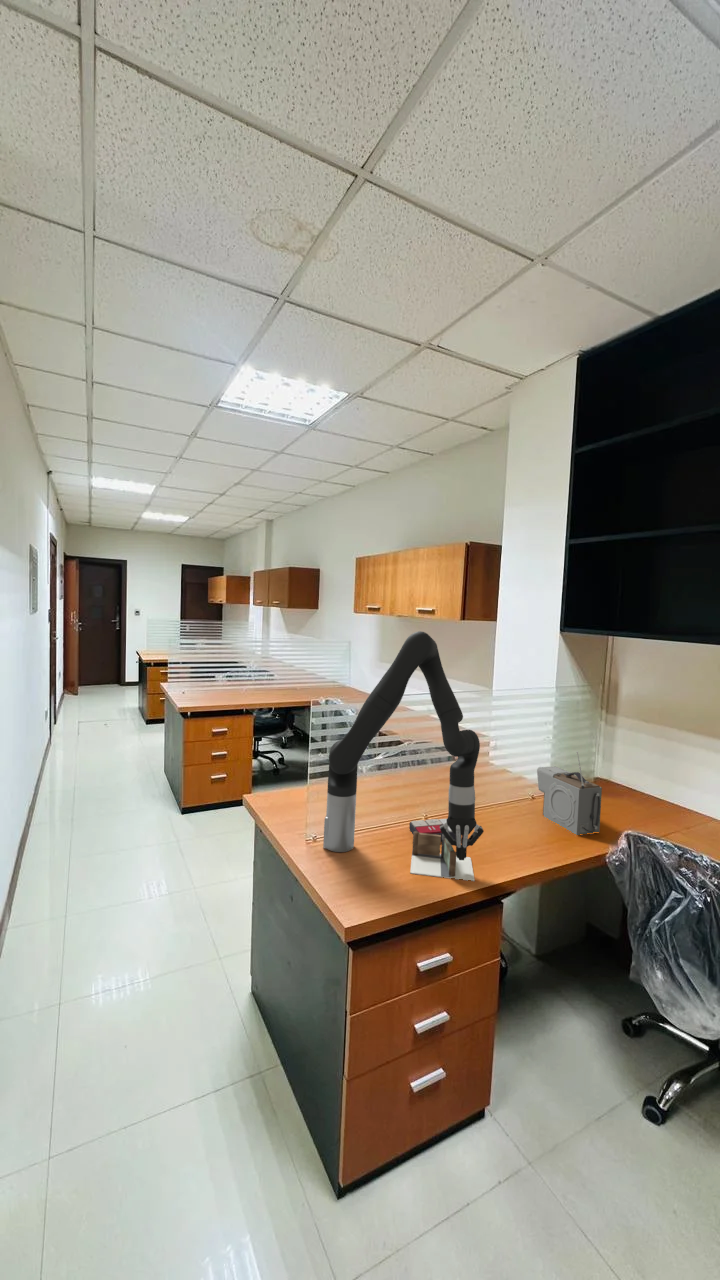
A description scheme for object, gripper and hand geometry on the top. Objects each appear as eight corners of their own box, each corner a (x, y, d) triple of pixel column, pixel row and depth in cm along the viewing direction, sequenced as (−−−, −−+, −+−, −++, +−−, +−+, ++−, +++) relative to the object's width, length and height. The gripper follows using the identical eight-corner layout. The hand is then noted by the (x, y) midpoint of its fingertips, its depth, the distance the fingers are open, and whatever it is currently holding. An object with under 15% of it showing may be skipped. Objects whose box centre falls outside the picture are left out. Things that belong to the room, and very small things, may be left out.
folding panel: (442, 857, 146) (443, 837, 146) (448, 858, 146) (449, 837, 146) (449, 876, 135) (450, 853, 135) (455, 876, 135) (457, 853, 135)
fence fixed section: (412, 856, 148) (413, 833, 148) (412, 852, 150) (413, 830, 150) (448, 860, 146) (449, 836, 146) (448, 857, 149) (449, 834, 148)
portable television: (555, 810, 195) (560, 736, 194) (602, 834, 172) (607, 751, 172) (531, 812, 191) (535, 737, 190) (575, 837, 168) (580, 752, 168)
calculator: (409, 819, 168) (449, 816, 171) (409, 832, 168) (449, 828, 171) (418, 833, 158) (461, 829, 161) (418, 846, 158) (461, 841, 161)
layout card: (410, 873, 137) (410, 872, 137) (412, 851, 151) (412, 850, 151) (474, 881, 135) (474, 880, 135) (470, 858, 148) (470, 857, 148)
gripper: (482, 795, 143) (481, 854, 143) (437, 794, 143) (436, 852, 144) (487, 804, 135) (486, 866, 135) (440, 803, 136) (439, 864, 136)
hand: (461, 859), depth 139 cm, fingers closed
